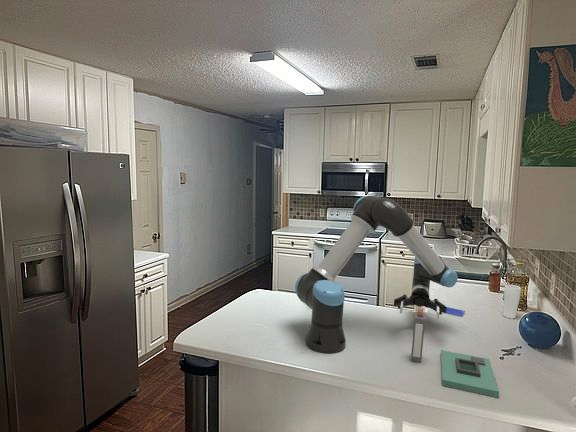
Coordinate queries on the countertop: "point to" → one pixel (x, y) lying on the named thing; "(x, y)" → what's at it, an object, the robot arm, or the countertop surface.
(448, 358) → the board
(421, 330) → the plug
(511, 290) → the drinking glass
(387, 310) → the countertop surface
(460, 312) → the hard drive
